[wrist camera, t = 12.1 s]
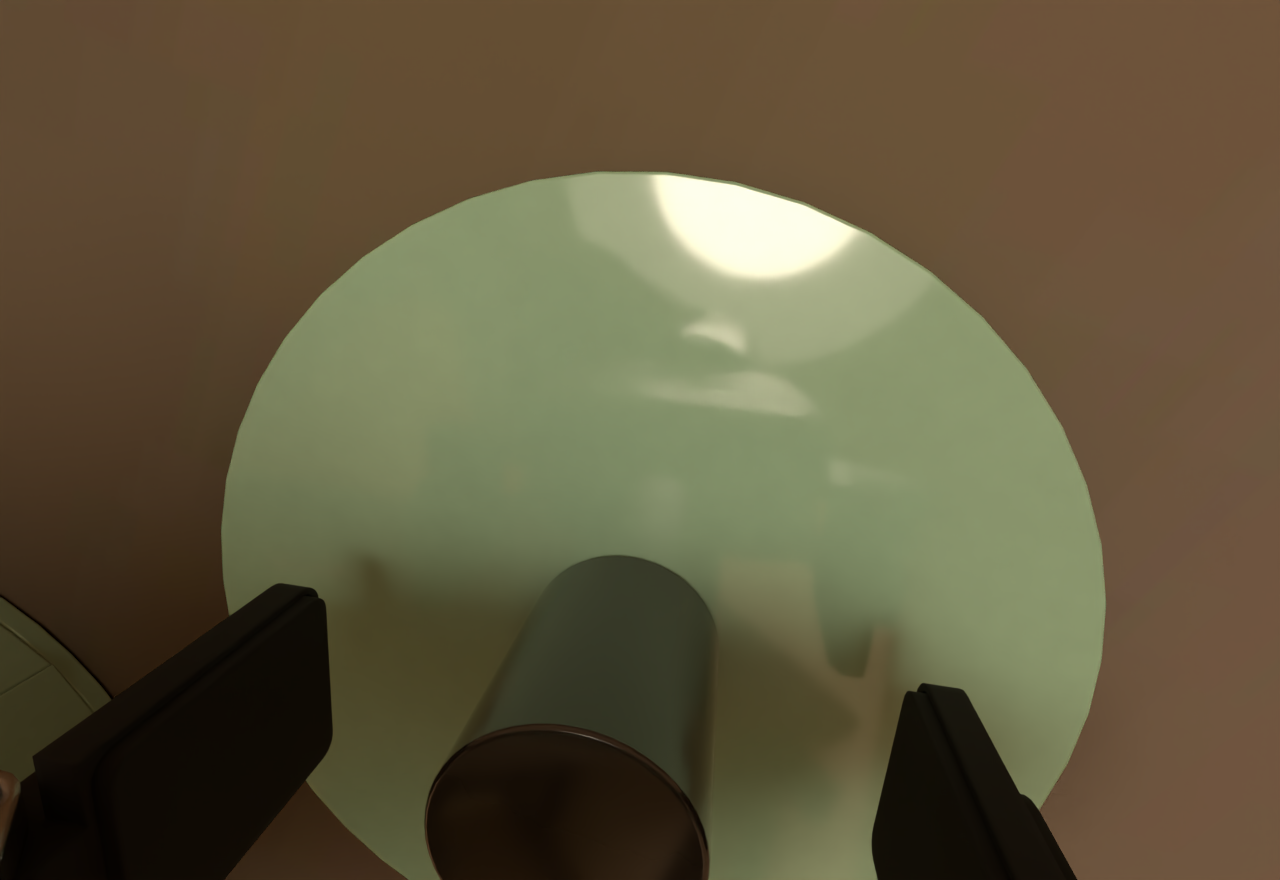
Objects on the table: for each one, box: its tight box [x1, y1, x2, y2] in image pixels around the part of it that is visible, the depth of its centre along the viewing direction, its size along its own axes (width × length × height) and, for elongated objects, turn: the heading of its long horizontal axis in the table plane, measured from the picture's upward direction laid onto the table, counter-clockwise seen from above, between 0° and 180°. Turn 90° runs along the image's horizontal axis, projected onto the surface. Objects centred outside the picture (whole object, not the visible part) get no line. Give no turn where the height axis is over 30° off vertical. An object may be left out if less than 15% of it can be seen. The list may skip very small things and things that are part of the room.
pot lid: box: [221, 171, 1106, 880], centre depth 11 cm, size 17×17×6 cm
